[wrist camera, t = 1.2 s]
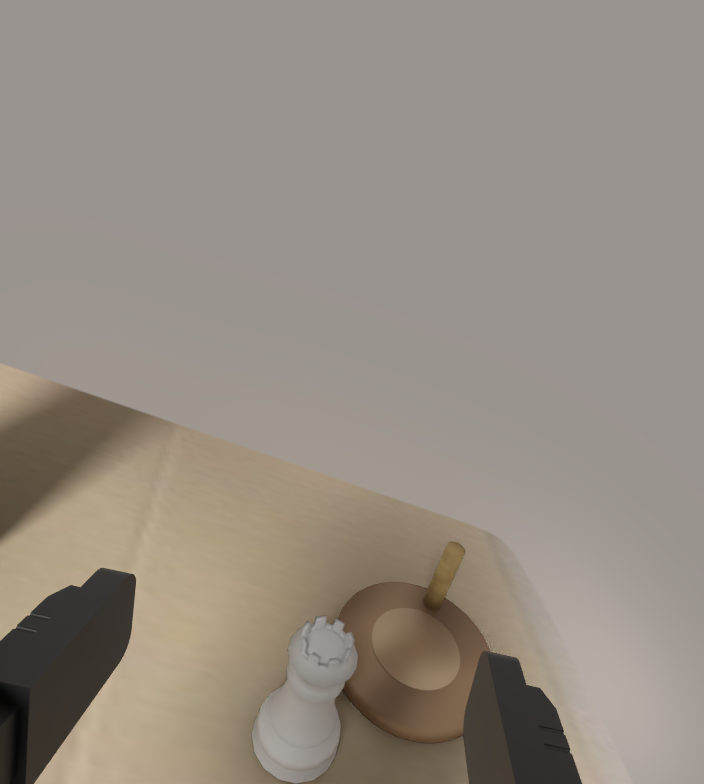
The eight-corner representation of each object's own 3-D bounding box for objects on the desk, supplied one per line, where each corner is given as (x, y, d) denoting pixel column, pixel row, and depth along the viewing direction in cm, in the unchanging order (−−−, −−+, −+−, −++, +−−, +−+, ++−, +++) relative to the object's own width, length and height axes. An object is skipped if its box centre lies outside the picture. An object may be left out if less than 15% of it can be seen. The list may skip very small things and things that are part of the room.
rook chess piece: (252, 696, 30) (279, 594, 26) (332, 700, 31) (369, 602, 27) (247, 788, 26) (277, 683, 22) (339, 789, 27) (382, 689, 23)
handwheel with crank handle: (303, 683, 31) (327, 609, 28) (365, 572, 40) (389, 506, 37) (470, 780, 29) (515, 709, 26) (499, 639, 37) (534, 574, 35)
